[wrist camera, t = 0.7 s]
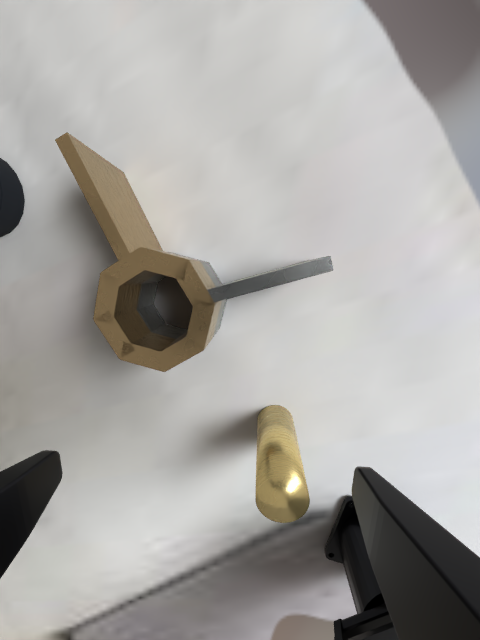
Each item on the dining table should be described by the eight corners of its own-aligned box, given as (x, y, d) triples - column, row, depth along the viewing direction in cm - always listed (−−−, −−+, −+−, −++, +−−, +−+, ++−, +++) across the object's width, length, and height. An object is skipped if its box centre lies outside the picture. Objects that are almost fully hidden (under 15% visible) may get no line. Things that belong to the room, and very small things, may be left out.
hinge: (281, 370, 22) (289, 406, 16) (92, 318, 23) (33, 335, 17) (326, 225, 20) (354, 205, 14) (115, 170, 20) (56, 129, 14)
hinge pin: (287, 441, 23) (300, 528, 15) (253, 432, 23) (249, 513, 15) (297, 410, 23) (316, 485, 15) (262, 401, 23) (263, 470, 15)
